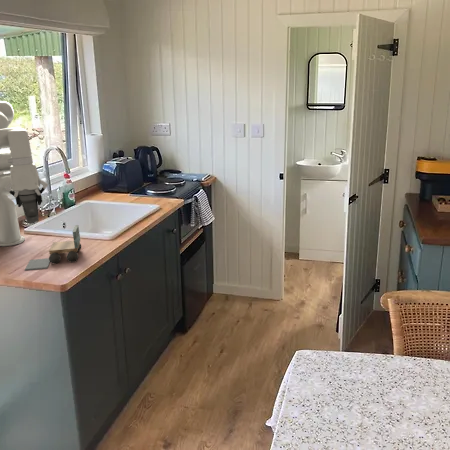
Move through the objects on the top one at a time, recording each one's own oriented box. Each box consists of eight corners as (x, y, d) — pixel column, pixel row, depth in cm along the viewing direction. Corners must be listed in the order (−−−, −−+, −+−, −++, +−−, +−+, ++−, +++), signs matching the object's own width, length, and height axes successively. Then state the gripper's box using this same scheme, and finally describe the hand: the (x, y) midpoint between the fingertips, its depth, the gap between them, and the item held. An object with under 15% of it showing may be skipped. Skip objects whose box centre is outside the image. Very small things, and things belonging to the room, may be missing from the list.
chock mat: (25, 270, 198) (24, 269, 198) (30, 261, 208) (30, 259, 207) (47, 268, 199) (47, 267, 199) (51, 259, 209) (51, 257, 209)
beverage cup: (36, 223, 198) (27, 174, 192) (19, 223, 199) (10, 174, 193) (45, 218, 204) (37, 170, 198) (29, 218, 206) (21, 170, 200)
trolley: (49, 264, 203) (45, 235, 200) (55, 252, 216) (50, 225, 212) (78, 261, 205) (74, 233, 201) (82, 250, 217) (78, 223, 213)
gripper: (-4, 164, 190) (5, 209, 195) (43, 161, 192) (50, 205, 197) (1, 161, 197) (9, 205, 202) (47, 158, 199) (53, 201, 205)
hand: (29, 205), depth 200 cm, fingers closed on beverage cup, 6 cm apart
